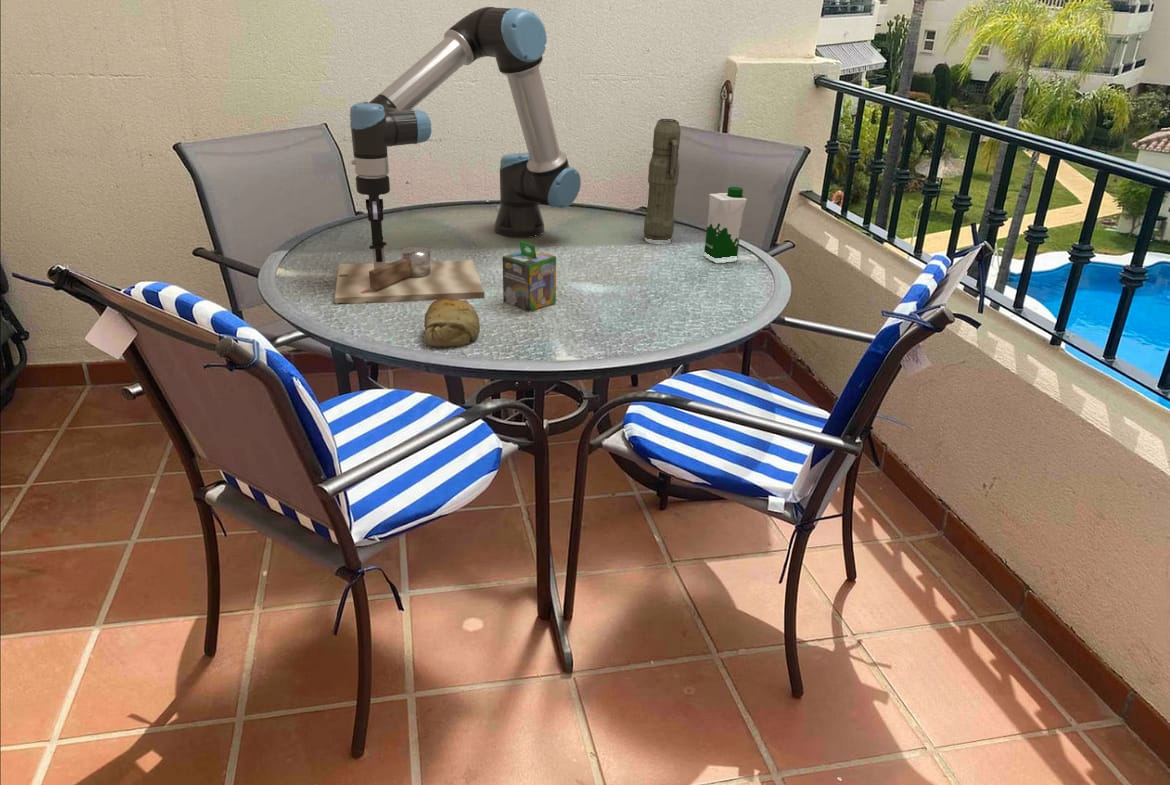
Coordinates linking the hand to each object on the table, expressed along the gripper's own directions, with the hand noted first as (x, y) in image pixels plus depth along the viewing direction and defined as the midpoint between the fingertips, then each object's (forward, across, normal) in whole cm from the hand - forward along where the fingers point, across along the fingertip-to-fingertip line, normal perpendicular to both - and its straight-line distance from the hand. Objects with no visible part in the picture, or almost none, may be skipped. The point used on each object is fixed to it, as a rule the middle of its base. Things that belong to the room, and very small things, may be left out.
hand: (380, 273), depth 191 cm
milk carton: (+3, -10, +94) cm, 94 cm away
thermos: (+3, -30, +82) cm, 87 cm away
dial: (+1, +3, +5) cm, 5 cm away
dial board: (+3, +1, +7) cm, 7 cm away
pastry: (+3, +36, +14) cm, 38 cm away
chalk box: (+3, +18, +34) cm, 38 cm away
